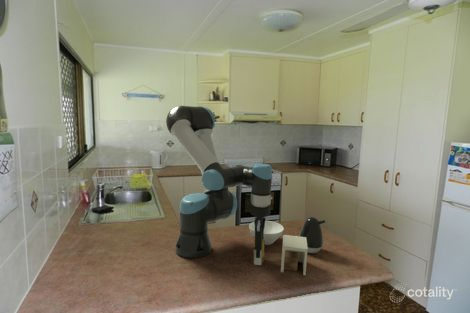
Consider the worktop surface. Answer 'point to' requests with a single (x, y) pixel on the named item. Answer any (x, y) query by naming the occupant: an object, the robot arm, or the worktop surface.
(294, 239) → the cream u-shaped stand
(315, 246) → the pump dispenser
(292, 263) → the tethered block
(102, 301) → the worktop surface
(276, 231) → the bowl
